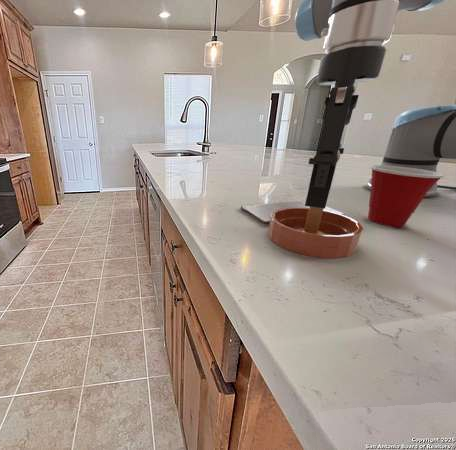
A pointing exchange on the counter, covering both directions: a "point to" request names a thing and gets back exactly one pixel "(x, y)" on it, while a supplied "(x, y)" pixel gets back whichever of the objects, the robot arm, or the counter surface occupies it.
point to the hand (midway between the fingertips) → (318, 196)
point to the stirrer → (314, 217)
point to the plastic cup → (398, 193)
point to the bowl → (315, 243)
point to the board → (266, 210)
